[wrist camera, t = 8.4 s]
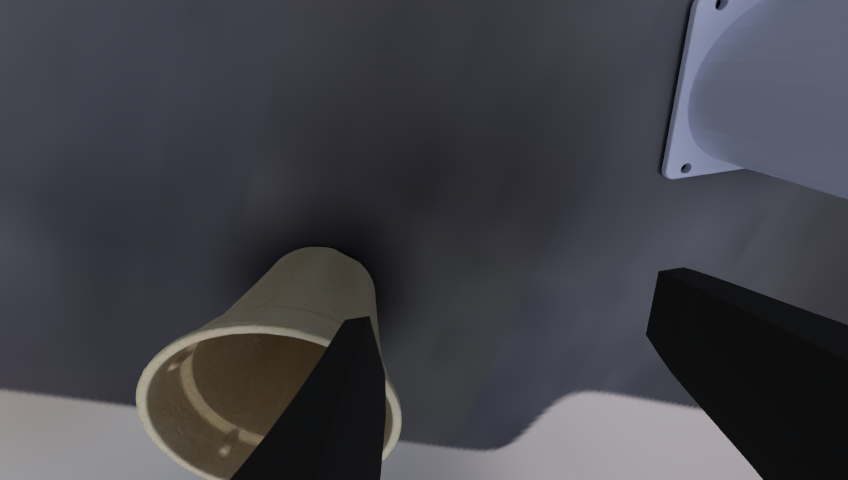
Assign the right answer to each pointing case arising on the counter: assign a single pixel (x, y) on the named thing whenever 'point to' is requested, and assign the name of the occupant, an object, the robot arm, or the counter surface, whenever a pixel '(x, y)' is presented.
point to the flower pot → (255, 363)
